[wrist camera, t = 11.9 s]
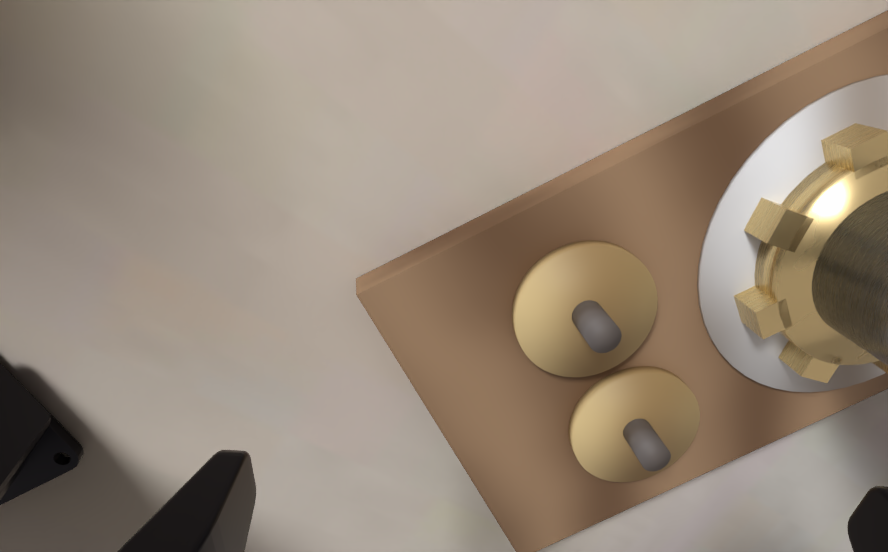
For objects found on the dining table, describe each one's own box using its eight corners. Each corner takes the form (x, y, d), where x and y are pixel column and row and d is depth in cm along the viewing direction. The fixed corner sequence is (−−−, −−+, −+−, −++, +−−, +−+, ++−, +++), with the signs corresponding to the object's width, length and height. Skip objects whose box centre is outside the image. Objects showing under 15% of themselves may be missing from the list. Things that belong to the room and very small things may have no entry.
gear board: (512, 534, 25) (534, 604, 22) (356, 278, 19) (357, 326, 17) (1029, 293, 24) (1124, 334, 21) (1016, -55, 18) (1142, -66, 15)
